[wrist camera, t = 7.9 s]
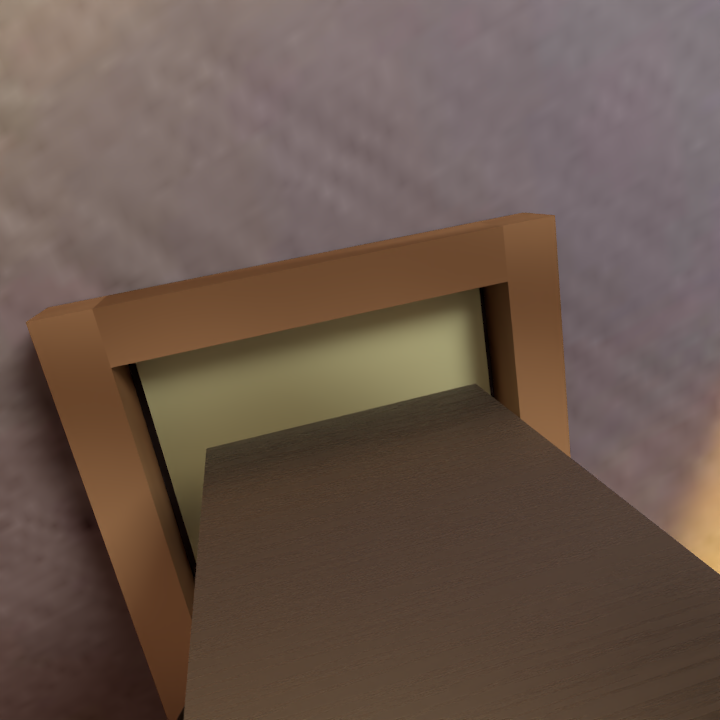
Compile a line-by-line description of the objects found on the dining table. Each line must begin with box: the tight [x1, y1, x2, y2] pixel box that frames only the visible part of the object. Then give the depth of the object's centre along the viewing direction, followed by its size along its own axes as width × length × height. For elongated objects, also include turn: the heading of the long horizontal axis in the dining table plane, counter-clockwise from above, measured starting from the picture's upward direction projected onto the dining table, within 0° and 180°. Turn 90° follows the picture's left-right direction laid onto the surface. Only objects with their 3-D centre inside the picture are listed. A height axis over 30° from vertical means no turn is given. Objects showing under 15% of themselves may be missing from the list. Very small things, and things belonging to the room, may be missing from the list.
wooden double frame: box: [26, 213, 570, 720], centre depth 13 cm, size 19×9×1 cm, turn 10°
